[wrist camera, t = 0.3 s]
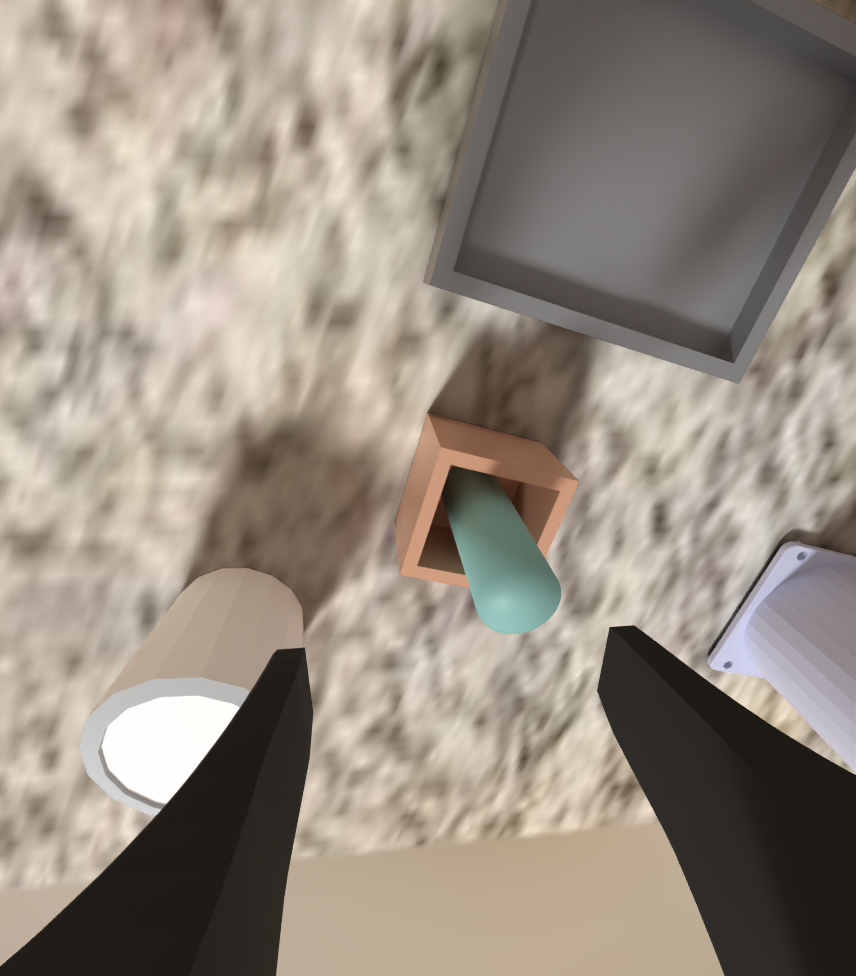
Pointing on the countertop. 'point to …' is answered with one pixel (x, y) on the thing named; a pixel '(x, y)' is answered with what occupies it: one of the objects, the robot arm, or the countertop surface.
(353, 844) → the countertop surface
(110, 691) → the white short cylinder
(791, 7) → the tray
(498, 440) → the open box
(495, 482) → the pin
